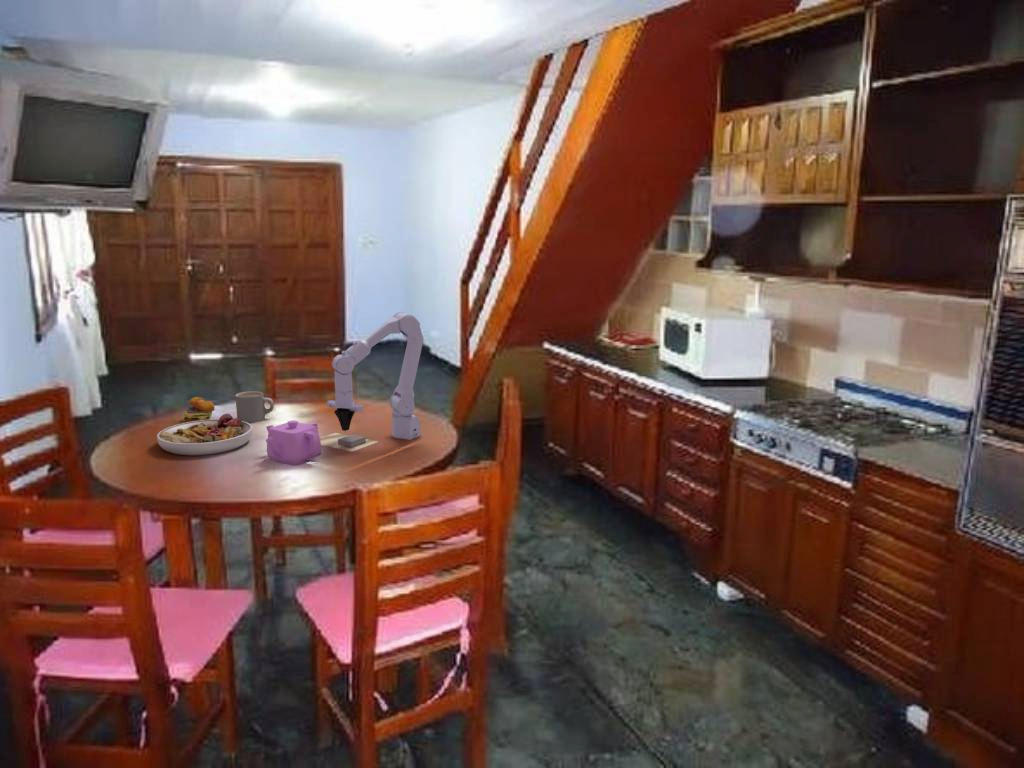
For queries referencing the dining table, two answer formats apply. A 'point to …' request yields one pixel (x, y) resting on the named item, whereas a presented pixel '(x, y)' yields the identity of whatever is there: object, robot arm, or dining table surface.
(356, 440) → the tile
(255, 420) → the coffee mug
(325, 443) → the board
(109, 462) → the dining table surface
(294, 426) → the teakettle
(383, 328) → the robot arm
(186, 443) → the bowl
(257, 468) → the dining table surface
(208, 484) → the dining table surface
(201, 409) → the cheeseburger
